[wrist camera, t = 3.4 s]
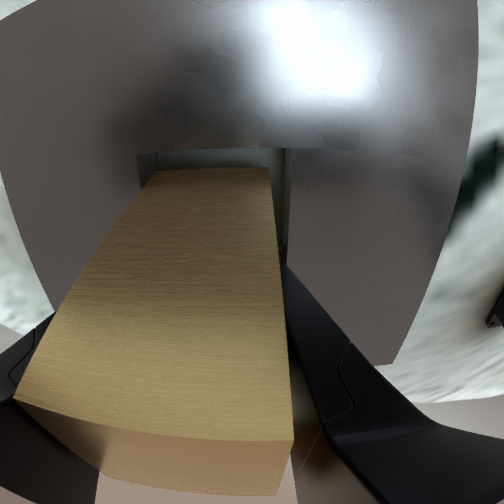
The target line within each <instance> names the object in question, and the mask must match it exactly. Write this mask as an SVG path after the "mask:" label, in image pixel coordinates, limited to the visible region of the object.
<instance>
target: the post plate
mask: <svg viewBox="0 0 504 504" xmlns="http://www.w3.org/2000/svg"><path fill="white" fill-rule="evenodd" d="M477 71H478V7H477V0H37V1H35V2H33V3H31V4H29V5H27V6H25V7H23V8H21V9H19V10H18V11H16V12H14V13H12V14H10V15H9V16H7V17H5V18H4V19H2V20H0V171H1V175H2V179H3V182H4V186H5V189H6V193H7V196H8V199H9V203H10V206H11V209H12V212H13V215H14V218H15V221H16V224H17V226H18V229H19V232H20V235H21V237H22V240H23V242H24V245H25V247H26V250H27V252H28V255H29V257H30V260H31V262H32V264H33V267H34V269H35V271H36V274H37V276H38V278H39V280H40V282H41V284H42V287H43V289H44V291H45V293H46V295H47V297H48V299H49V301H50V303H51V305H52V307H53V309H54V311H57V310H58V309H59V307H60V306H61V304H62V302H63V301H64V299H65V297H66V296H67V294H68V292H69V291H70V289H71V288H72V286H73V284H74V283H75V281H76V280H77V278H78V277H79V275H80V273H81V272H82V270H83V269H84V267H85V266H86V264H87V263H88V261H89V260H90V258H91V257H92V255H93V254H94V253H95V251H96V250H97V248H98V247H99V245H100V244H101V242H102V241H103V240H104V238H105V237H106V235H107V234H108V233H109V231H110V230H111V229H112V227H113V226H114V224H115V223H116V222H117V220H118V219H119V218H120V216H121V215H122V214H123V212H124V211H125V210H126V209H127V207H128V206H129V205H130V203H131V202H132V201H133V199H134V198H135V197H136V196H137V194H138V193H139V192H140V191H141V189H142V188H143V187H144V186H145V184H146V183H147V182H148V181H149V180H150V178H151V177H152V176H153V175H154V174H155V172H156V171H159V163H158V155H157V152H164V151H177V150H193V149H213V148H253V147H277V148H285V175H284V204H283V230H282V245H278V255H279V264H280V266H288V267H289V268H290V270H291V271H292V272H293V273H294V274H295V275H296V276H297V278H298V279H299V280H300V281H301V282H302V283H303V285H304V286H305V287H306V288H307V289H308V291H309V292H310V293H311V294H312V295H313V296H314V298H315V299H316V300H317V301H318V302H319V303H320V305H321V306H322V307H323V308H324V309H325V310H326V312H327V313H328V314H329V315H330V316H331V318H332V319H333V320H334V321H335V322H336V323H337V325H338V326H339V327H340V328H341V329H342V331H343V332H344V333H345V334H346V335H347V337H348V338H349V339H350V340H351V342H352V343H353V344H354V345H355V346H356V347H357V348H358V350H359V351H360V352H361V353H362V354H363V355H364V356H365V358H366V359H367V360H368V361H369V362H370V363H371V364H372V365H373V366H379V365H387V364H392V363H393V361H394V360H395V358H396V356H397V354H398V352H399V350H400V348H401V346H402V344H403V342H404V340H405V338H406V336H407V333H408V331H409V329H410V327H411V325H412V323H413V320H414V318H415V316H416V314H417V312H418V309H419V307H420V305H421V302H422V300H423V297H424V295H425V293H426V290H427V288H428V285H429V283H430V280H431V277H432V275H433V272H434V269H435V267H436V264H437V261H438V258H439V255H440V253H441V250H442V247H443V244H444V241H445V238H446V234H447V231H448V228H449V225H450V221H451V218H452V214H453V211H454V207H455V204H456V200H457V196H458V192H459V188H460V184H461V180H462V175H463V171H464V166H465V161H466V156H467V151H468V146H469V140H470V134H471V128H472V121H473V113H474V105H475V96H476V85H477Z"/></svg>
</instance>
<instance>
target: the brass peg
mask: <svg viewBox="0 0 504 504" xmlns="http://www.w3.org/2000/svg"><path fill="white" fill-rule="evenodd" d="M13 399H14V400H15V401H16V402H17V403H18V404H19V405H20V406H21V407H22V408H23V409H24V410H25V411H26V412H27V413H29V414H30V415H31V416H32V417H33V418H34V419H35V420H36V421H37V422H38V423H39V424H40V425H41V426H43V427H44V428H45V429H46V430H47V431H48V432H49V433H51V434H52V435H53V436H54V437H55V438H56V439H58V440H59V441H60V442H61V443H63V444H64V445H65V446H66V447H68V448H69V449H70V450H71V451H73V452H74V453H75V454H77V455H78V456H79V457H81V458H82V459H83V460H85V461H86V462H87V463H89V464H90V465H92V466H93V467H95V468H96V469H97V470H99V471H100V472H102V473H103V474H105V475H106V476H108V477H110V478H114V479H119V480H122V481H127V482H131V483H136V484H141V485H146V486H151V487H157V488H164V489H169V490H176V491H184V492H193V493H203V494H216V495H234V496H276V493H277V490H278V488H279V485H280V482H281V479H282V476H283V473H284V470H285V467H286V464H287V461H288V458H289V455H290V452H291V448H292V445H293V442H294V431H293V416H292V402H291V388H290V375H289V363H288V351H287V339H286V327H285V316H284V305H283V295H282V284H281V274H280V264H279V255H278V245H277V236H276V227H275V217H274V209H273V200H272V191H271V183H270V174H269V167H238V168H204V169H183V170H166V171H156V172H155V174H154V175H153V176H152V177H151V178H150V180H149V181H148V182H147V183H146V184H145V186H144V187H143V188H142V189H141V191H140V192H139V193H138V194H137V196H136V197H135V198H134V199H133V201H132V202H131V203H130V205H129V206H128V207H127V209H126V210H125V211H124V212H123V214H122V215H121V216H120V218H119V219H118V220H117V222H116V223H115V224H114V226H113V227H112V229H111V230H110V231H109V233H108V234H107V235H106V237H105V238H104V240H103V241H102V242H101V244H100V245H99V247H98V248H97V250H96V251H95V253H94V254H93V255H92V257H91V258H90V260H89V261H88V263H87V264H86V266H85V267H84V269H83V270H82V272H81V273H80V275H79V277H78V278H77V280H76V281H75V283H74V284H73V286H72V288H71V289H70V291H69V292H68V294H67V296H66V297H65V299H64V301H63V302H62V304H61V306H60V307H59V309H58V311H57V312H56V314H55V316H54V318H53V319H52V321H51V323H50V325H49V326H48V328H47V330H46V332H45V334H44V335H43V337H42V339H41V341H40V343H39V345H38V347H37V348H36V350H35V352H34V354H33V356H32V358H31V360H30V362H29V364H28V366H27V368H26V370H25V372H24V375H23V377H22V379H21V381H20V383H19V385H18V387H17V390H16V392H15V394H14V396H13Z"/></svg>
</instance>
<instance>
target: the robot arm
mask: <svg viewBox="0 0 504 504" xmlns="http://www.w3.org/2000/svg"><path fill="white" fill-rule="evenodd" d="M280 274H281V284H282V295H283V305H284V316H285V327H286V339H287V351H288V363H289V375H290V388H291V402H292V416H293V431H294V442H293V445H292V448H291V452H290V455H291V462H292V468H293V474H294V480H295V488H296V494H297V501H298V504H504V439H500V438H494V437H490V436H485V435H481V434H476V433H472V432H468V431H464V430H460V429H456V428H451V427H448V426H445V425H441V424H439V423H437V422H435V421H433V420H431V419H430V418H428V417H427V416H426V415H424V414H423V413H422V412H421V411H420V410H418V409H417V408H416V407H415V406H414V405H413V404H412V403H411V402H410V401H409V400H408V399H407V398H406V397H405V396H404V395H403V394H401V393H400V392H399V391H398V390H397V389H396V388H395V387H394V386H393V385H392V384H391V383H390V382H389V381H388V380H387V379H386V378H385V377H384V376H383V375H382V374H381V373H380V372H379V371H378V370H377V369H376V368H375V367H374V366H373V365H372V364H371V363H370V362H369V361H368V360H367V359H366V358H365V356H364V355H363V354H362V353H361V352H360V351H359V350H358V348H357V347H356V346H355V345H354V344H353V343H352V342H351V340H350V339H349V338H348V337H347V335H346V334H345V333H344V332H343V331H342V329H341V328H340V327H339V326H338V325H337V323H336V322H335V321H334V320H333V319H332V318H331V316H330V315H329V314H328V313H327V312H326V310H325V309H324V308H323V307H322V306H321V305H320V303H319V302H318V301H317V300H316V299H315V298H314V296H313V295H312V294H311V293H310V292H309V291H308V289H307V288H306V287H305V286H304V285H303V283H302V282H301V281H300V280H299V279H298V278H297V276H296V275H295V274H294V273H293V272H292V271H291V270H290V268H289V267H288V266H280ZM57 311H58V310H57ZM57 311H55V312H54V313H53V314H52V315H50V316H49V317H48V318H46V319H45V320H44V321H43V322H41V323H40V324H39V325H37V326H36V329H35V328H34V329H32V330H31V331H30V332H29V333H27V334H26V335H25V336H24V337H22V338H21V339H20V340H18V341H17V342H16V343H15V344H13V345H12V346H11V347H9V348H8V349H6V350H5V351H4V352H2V353H1V354H0V504H94V503H95V496H96V490H97V483H98V477H99V470H97V469H96V468H95V467H93V466H92V465H90V464H89V463H87V462H86V461H85V460H83V459H82V458H81V457H79V456H78V455H77V454H75V453H74V452H73V451H71V450H70V449H69V448H68V447H66V446H65V445H64V444H63V443H61V442H60V441H59V440H58V439H56V438H55V437H54V436H53V435H52V434H51V433H49V432H48V431H47V430H46V429H45V428H44V427H43V426H41V425H40V424H39V423H38V422H37V421H36V420H35V419H34V418H33V417H32V416H31V415H30V414H29V413H27V412H26V411H25V410H24V409H23V408H22V407H21V406H20V405H19V404H18V403H17V402H16V401H15V400H14V399H13V396H14V394H15V392H16V390H17V387H18V385H19V383H20V381H21V379H22V377H23V375H24V372H25V370H26V368H27V366H28V364H29V362H30V360H31V358H32V356H33V354H34V352H35V350H36V348H37V347H38V345H39V343H40V341H41V339H42V337H43V335H44V334H45V332H46V330H47V328H48V326H49V325H50V323H51V321H52V319H53V318H54V316H55V314H56V312H57ZM486 325H487V327H488V328H492V327H496V326H501V325H502V327H503V328H504V289H503V291H502V293H501V295H500V297H499V299H498V301H497V303H496V305H495V306H494V308H493V310H492V312H491V314H490V315H489V317H488V319H487V320H486Z"/></svg>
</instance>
